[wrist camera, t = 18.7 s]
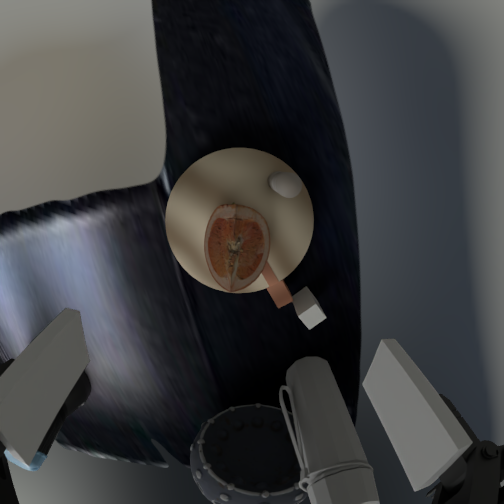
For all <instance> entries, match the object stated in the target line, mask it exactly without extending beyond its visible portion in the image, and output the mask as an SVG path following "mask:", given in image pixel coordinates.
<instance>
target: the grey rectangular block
mask: <svg viewBox="0 0 504 504" xmlns="http://www.w3.org/2000/svg"><path fill="white" fill-rule="evenodd" d="M292 298H293V301H292V302H293V304H294V307H295V310H296V312H297V315H298V317H299V318H300V319H301V320H302V322H303V323H304V324H305V325H306V326H307V328H308V329H309V330H310V329H311V328H313V327H314V326H315V325H317V324H318V323H320V322H321V321H323V320H324V319H326V316H325V314H324V312H323V310H322V308H321V307H320V305H319V303H318V301H317V299H316V298H315V297H314V295H313V294H312V293H311V291H310V290H309V289H308V288H307V286H306V287H305V288H303V289H302V290H300V291H299V292H298V293H296V294H295V295H293V296H292Z"/></svg>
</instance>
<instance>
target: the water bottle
mask: <svg viewBox="0 0 504 504" xmlns="http://www.w3.org/2000/svg"><path fill="white" fill-rule="evenodd" d="M286 383H287V386H283V385H282V386H281V388H280V392H279V400H280V404H281V408H282V411H283V414H284V417H285V420H286V424H287V427H288V430H289V433H290V436H291V439H292V442H293V446H294V449H295V452H296V455H297V458H298V461H299V464H300V467H301V474H300V481H299V487H300V488H301V489H302V490H304V491H305V492H308V495H309V498H310V501H311V504H379V503H380V502H379V498H378V493H377V489H376V484H375V480H374V476H373V468H372V467H371V466H370V465H369V464H368V462H367V459H366V456H365V454H364V451H363V448H362V446H361V443H360V441H359V438H358V435H357V433H356V430H355V428H354V425H353V423H352V420H351V418H350V415H349V413H348V410H347V408H346V405H345V403H344V400H343V398H342V395H341V393H340V390H339V388H338V385H337V383H336V381H335V378H334V376H333V373H332V371H331V368H330V366H329V364H328V362H327V361H326V360H324V359H322V358H320V357H317V356H312V357H304V358H302V359H299V360H297V361H295V362H294V364H293V365H292V366H291V367H290V368H289V369H288V370H287V374H286ZM282 390H286V391H287V392H288V394H289V398H290V403H291V408H292V413H293V419H294V424H295V430H296V436H297V442H298V445H297V442H296V439H295V435H294V432H293V429H292V426H291V423H290V420H289V416H288V413H287V410H286V407H285V404H284V400H283V394H282ZM303 482H307V483H308V484H309V485H308V487H307V489H306V488H304V487H303V485H302V483H303Z"/></svg>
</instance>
